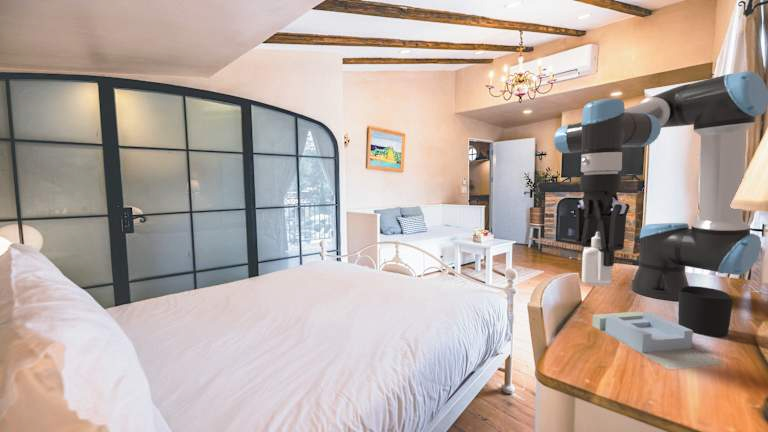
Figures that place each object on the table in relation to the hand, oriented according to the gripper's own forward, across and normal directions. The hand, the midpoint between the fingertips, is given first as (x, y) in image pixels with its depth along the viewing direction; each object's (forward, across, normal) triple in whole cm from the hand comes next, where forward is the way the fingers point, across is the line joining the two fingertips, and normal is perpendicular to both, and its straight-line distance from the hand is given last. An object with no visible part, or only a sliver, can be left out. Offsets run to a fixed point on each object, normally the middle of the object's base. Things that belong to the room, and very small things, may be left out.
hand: (596, 276), depth 74 cm
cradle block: (+15, +2, +12) cm, 19 cm away
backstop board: (+16, +3, +12) cm, 20 cm away
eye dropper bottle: (+2, 0, 0) cm, 2 cm away
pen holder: (+16, -1, +30) cm, 34 cm away
